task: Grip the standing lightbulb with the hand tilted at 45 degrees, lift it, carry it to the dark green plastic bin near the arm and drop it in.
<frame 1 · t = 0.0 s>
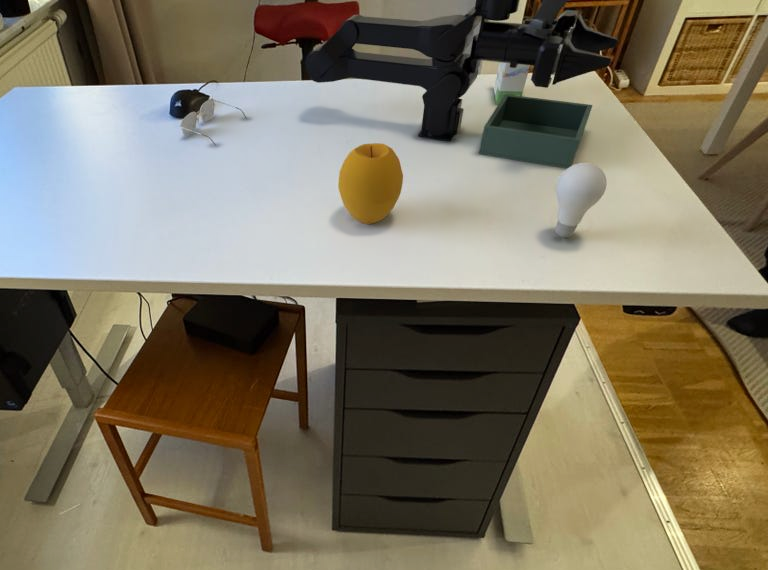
hand: (613, 52, 84), 17 cm above the table, tool horizontal, fingers open, 9 cm apart
bin: (531, 142, 100), on the table
lightbulb: (562, 237, 80), on the table
eyeglasses: (215, 130, 113), on the table
apple: (369, 218, 86), on the table
ink box: (506, 98, 115), on the table
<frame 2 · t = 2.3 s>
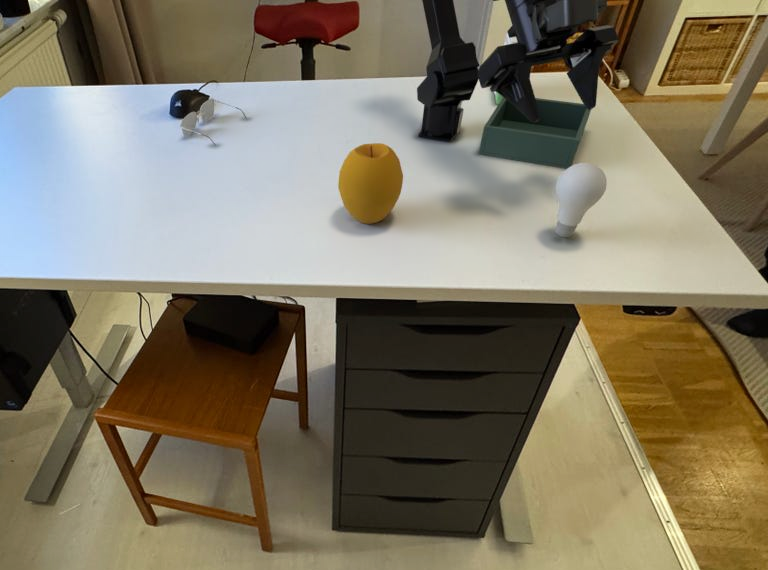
hand: (564, 114, 75), 14 cm above the table, tool tilted 50°, fingers open, 9 cm apart
nothing on the table moved.
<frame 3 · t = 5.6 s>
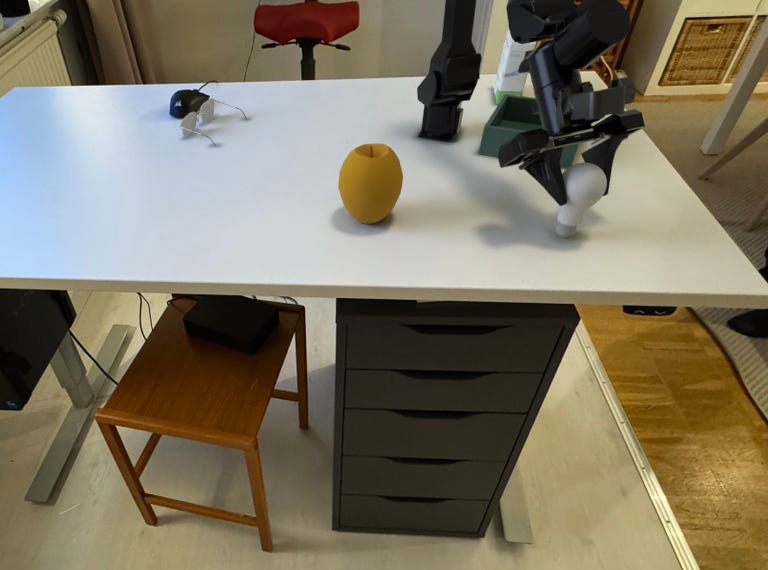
hand: (583, 200, 74), 7 cm above the table, tool tilted 45°, fingers closed on lightbulb, 6 cm apart
lightbulb: (562, 237, 80), on the table, touching gripper
everything else where it was.
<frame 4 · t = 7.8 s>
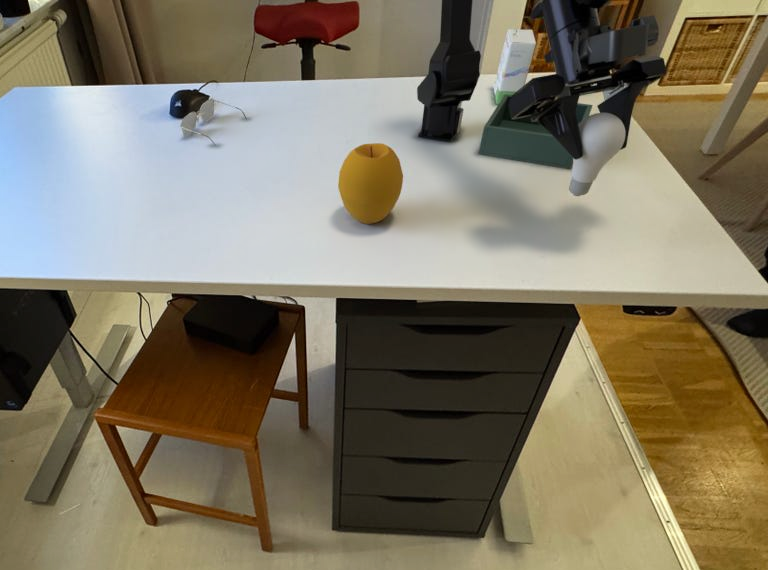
hand: (600, 153, 69), 13 cm above the table, tool tilted 45°, fingers closed on lightbulb, 6 cm apart
lightbulb: (576, 196, 75), point 6 cm above the table, touching gripper
everything else where it was.
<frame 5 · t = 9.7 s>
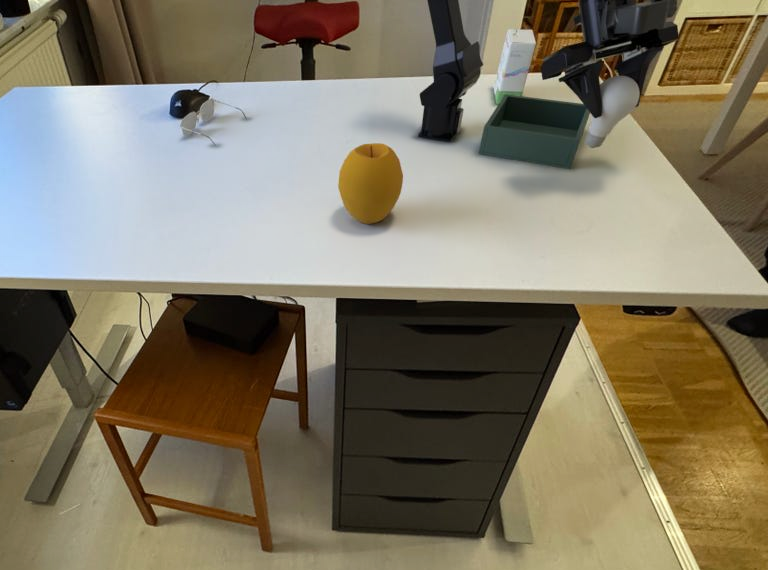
hand: (616, 112, 80), 12 cm above the table, tool tilted 35°, fingers closed on lightbulb, 6 cm apart
lightbulb: (590, 147, 86), point 5 cm above the table, touching gripper
everything else where it was.
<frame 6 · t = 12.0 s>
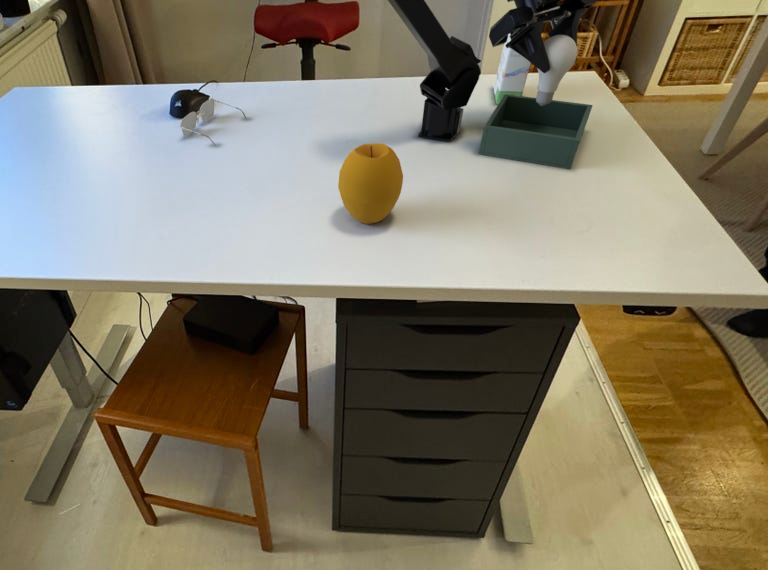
hand: (560, 67, 90), 13 cm above the table, tool tilted 45°, fingers closed on lightbulb, 6 cm apart
lightbulb: (541, 106, 95), point 7 cm above the table, touching gripper
everything else where it was.
when the fingers open (9 cm above the table, at t = 13.9 s): lightbulb drops 2 cm, resting on bin.
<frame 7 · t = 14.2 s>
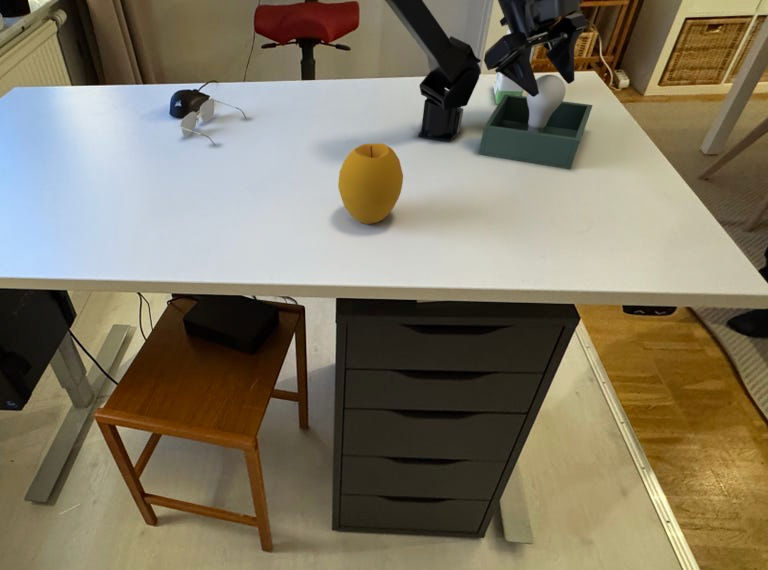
hand: (554, 88, 92), 10 cm above the table, tool tilted 45°, fingers open, 8 cm apart
lightbulb: (532, 140, 100), resting on bin
everything else where it was.
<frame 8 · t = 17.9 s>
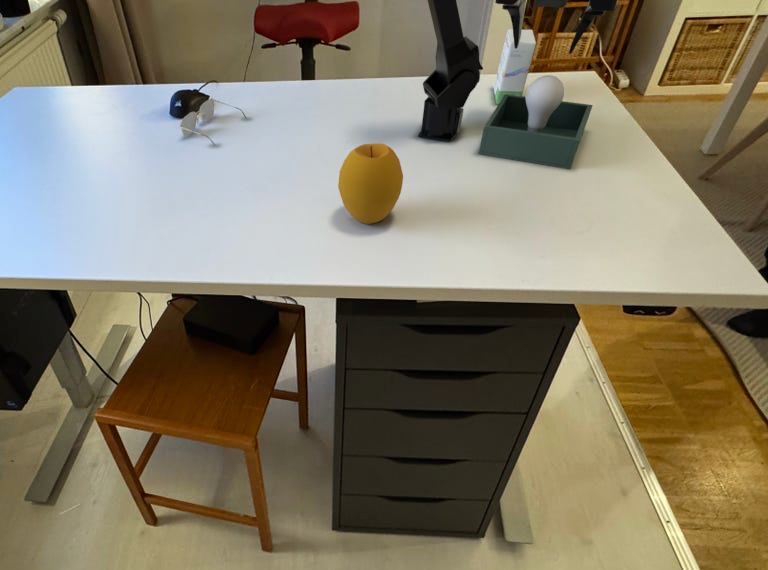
hand: (542, 50, 97), 13 cm above the table, tool pointing down, fingers open, 9 cm apart
nothing on the table moved.
at the end: lightbulb inside the target area in the bin (0.1 cm from its centre), point 0.3 cm above the bin's base; the gripper is holding nothing; lightbulb moved 30.8 cm from its start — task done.
